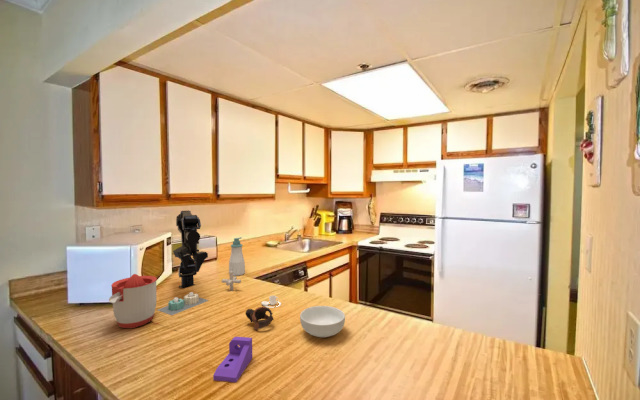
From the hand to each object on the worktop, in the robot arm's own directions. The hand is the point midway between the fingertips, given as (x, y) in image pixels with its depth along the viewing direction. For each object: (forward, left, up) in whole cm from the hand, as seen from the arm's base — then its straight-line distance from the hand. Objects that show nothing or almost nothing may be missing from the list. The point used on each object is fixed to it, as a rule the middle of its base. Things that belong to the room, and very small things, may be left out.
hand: (191, 270), depth 148 cm
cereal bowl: (+76, +1, -13) cm, 77 cm away
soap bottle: (-9, +39, -13) cm, 42 cm away
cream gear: (+9, -7, -12) cm, 17 cm away
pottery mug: (+51, -6, -13) cm, 53 cm away
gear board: (+9, -11, -13) cm, 20 cm away
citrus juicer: (+6, -31, -13) cm, 34 cm away
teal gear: (+9, -15, -12) cm, 21 cm away
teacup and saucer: (+39, +13, -14) cm, 44 cm away
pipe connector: (+11, +16, -13) cm, 23 cm away
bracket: (+64, -32, -14) cm, 73 cm away
